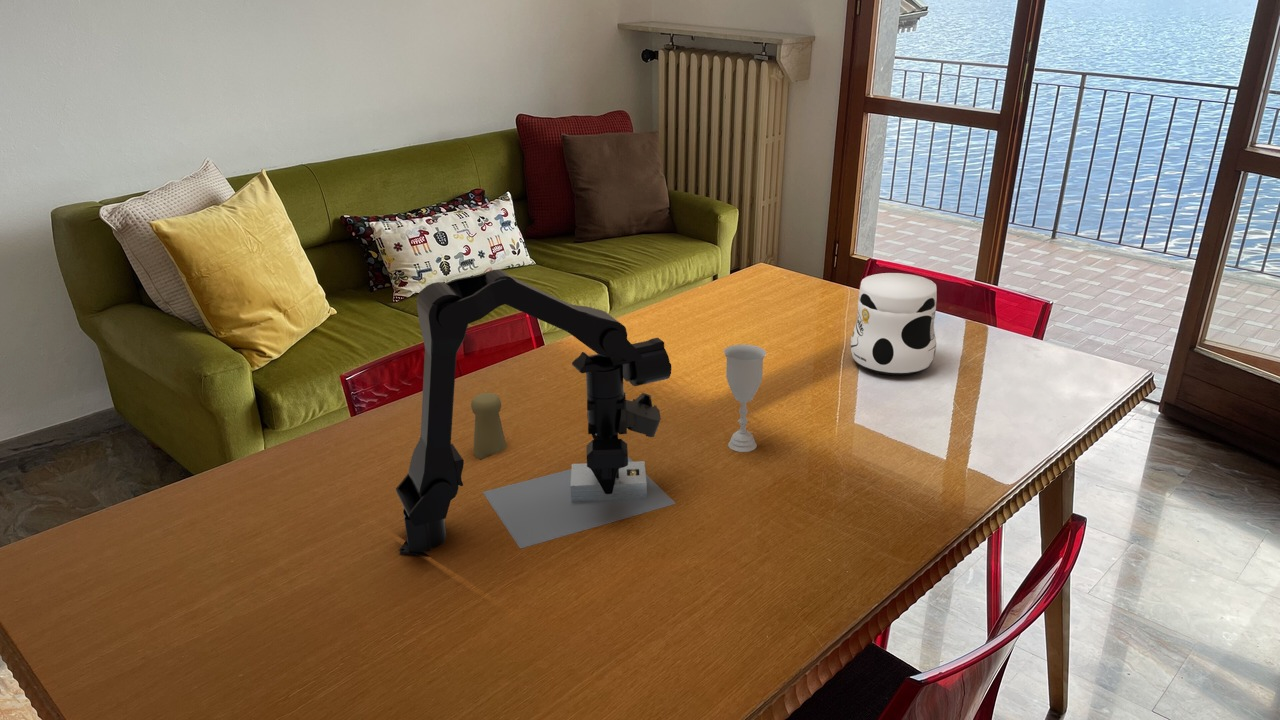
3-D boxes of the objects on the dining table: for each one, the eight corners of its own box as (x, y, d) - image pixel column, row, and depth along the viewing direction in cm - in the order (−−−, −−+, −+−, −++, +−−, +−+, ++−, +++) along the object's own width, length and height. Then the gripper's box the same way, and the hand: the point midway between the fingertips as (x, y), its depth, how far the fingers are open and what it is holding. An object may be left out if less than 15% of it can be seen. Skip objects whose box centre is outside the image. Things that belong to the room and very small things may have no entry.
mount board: (520, 554, 138) (520, 548, 138) (483, 497, 153) (482, 492, 153) (675, 509, 149) (675, 503, 149) (626, 459, 164) (626, 454, 163)
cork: (501, 461, 164) (496, 404, 160) (468, 458, 165) (462, 402, 161) (512, 445, 170) (507, 389, 165) (480, 442, 171) (475, 387, 166)
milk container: (834, 355, 204) (839, 276, 197) (904, 345, 209) (912, 267, 202) (876, 387, 189) (883, 302, 182) (950, 375, 194) (960, 292, 187)
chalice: (715, 449, 167) (717, 355, 160) (730, 433, 172) (732, 341, 165) (754, 457, 164) (757, 363, 156) (768, 441, 169) (772, 348, 162)
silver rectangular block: (571, 502, 150) (570, 485, 148) (572, 479, 156) (571, 463, 155) (646, 499, 150) (646, 483, 149) (644, 477, 156) (644, 461, 155)
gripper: (660, 416, 138) (661, 507, 144) (653, 365, 155) (654, 449, 161) (584, 419, 137) (588, 510, 143) (585, 367, 154) (589, 451, 161)
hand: (608, 478), depth 152 cm, fingers open, 9 cm apart
